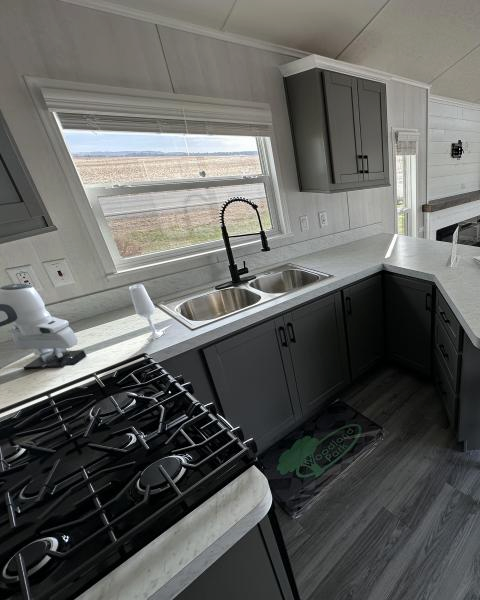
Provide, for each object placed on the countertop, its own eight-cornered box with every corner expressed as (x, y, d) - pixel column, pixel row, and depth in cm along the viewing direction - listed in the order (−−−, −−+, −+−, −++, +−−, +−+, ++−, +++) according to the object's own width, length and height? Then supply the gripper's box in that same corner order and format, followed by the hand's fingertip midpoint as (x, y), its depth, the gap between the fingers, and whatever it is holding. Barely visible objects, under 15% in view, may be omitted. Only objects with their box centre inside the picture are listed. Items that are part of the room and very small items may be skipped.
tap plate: (25, 374, 123) (21, 367, 121) (52, 357, 133) (48, 350, 131) (63, 372, 123) (59, 365, 122) (87, 355, 133) (84, 348, 132)
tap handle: (45, 363, 124) (40, 355, 122) (43, 362, 124) (39, 354, 123) (69, 353, 129) (64, 345, 127) (67, 352, 130) (63, 344, 128)
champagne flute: (159, 339, 143) (139, 289, 133) (143, 340, 143) (121, 290, 132) (168, 331, 149) (149, 282, 139) (152, 332, 149) (132, 283, 138)
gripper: (-1, 330, 117) (19, 362, 123) (56, 329, 117) (73, 361, 123) (18, 322, 123) (36, 352, 129) (72, 320, 123) (87, 351, 129)
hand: (54, 356), depth 126 cm, fingers closed on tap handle, 2 cm apart
